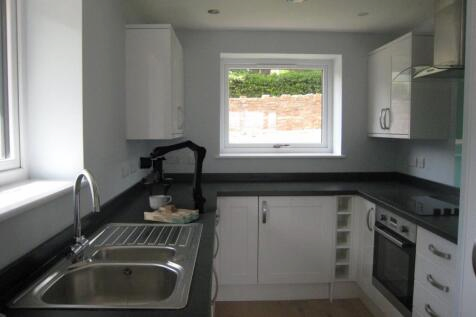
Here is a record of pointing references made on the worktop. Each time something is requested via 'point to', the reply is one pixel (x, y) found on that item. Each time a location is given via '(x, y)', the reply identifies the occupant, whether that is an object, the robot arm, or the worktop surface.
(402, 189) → the worktop surface
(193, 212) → the track
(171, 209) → the walnut block
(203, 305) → the worktop surface
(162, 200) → the teacup
